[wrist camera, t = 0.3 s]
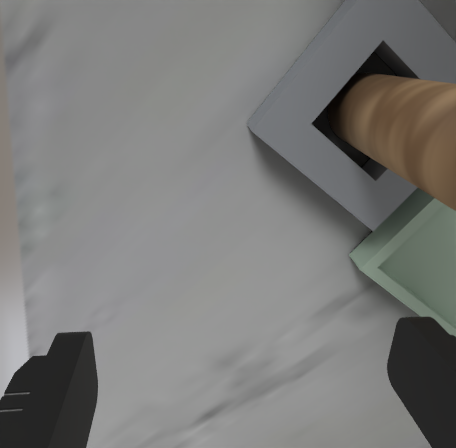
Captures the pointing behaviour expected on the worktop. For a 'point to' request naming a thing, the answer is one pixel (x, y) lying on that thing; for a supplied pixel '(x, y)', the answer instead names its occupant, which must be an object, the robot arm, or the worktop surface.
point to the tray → (415, 257)
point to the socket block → (334, 81)
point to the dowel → (402, 128)
